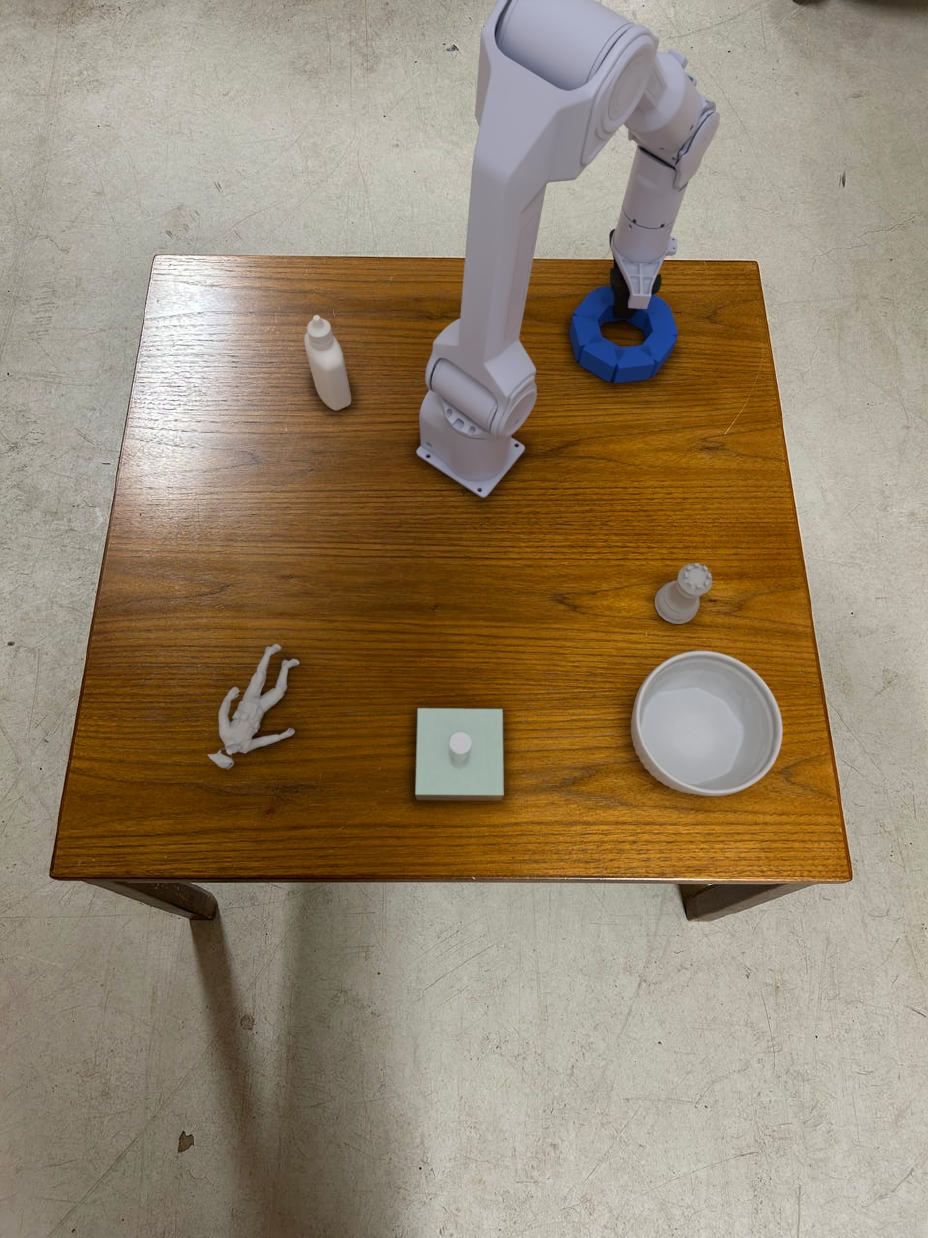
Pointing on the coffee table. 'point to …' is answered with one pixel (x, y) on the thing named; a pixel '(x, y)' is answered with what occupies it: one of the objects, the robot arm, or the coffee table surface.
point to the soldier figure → (251, 712)
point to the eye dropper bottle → (327, 364)
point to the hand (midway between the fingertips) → (622, 303)
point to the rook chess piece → (683, 594)
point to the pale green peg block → (459, 754)
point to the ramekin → (706, 724)
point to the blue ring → (610, 357)
